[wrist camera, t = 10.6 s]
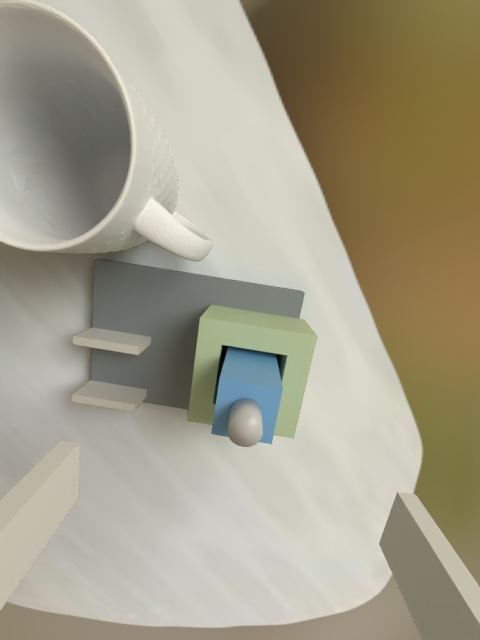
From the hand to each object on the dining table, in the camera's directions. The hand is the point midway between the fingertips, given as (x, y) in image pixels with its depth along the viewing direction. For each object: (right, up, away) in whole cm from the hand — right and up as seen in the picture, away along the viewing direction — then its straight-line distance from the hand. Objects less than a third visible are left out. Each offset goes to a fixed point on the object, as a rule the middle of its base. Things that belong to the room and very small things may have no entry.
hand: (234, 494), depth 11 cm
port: (+1, +4, +16) cm, 16 cm away
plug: (+1, +4, +16) cm, 16 cm away
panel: (-5, +5, +17) cm, 19 cm away
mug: (-9, +18, +15) cm, 25 cm away
